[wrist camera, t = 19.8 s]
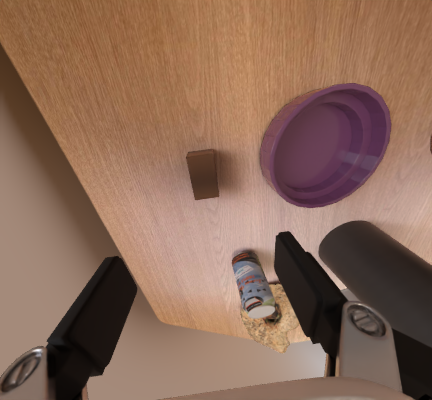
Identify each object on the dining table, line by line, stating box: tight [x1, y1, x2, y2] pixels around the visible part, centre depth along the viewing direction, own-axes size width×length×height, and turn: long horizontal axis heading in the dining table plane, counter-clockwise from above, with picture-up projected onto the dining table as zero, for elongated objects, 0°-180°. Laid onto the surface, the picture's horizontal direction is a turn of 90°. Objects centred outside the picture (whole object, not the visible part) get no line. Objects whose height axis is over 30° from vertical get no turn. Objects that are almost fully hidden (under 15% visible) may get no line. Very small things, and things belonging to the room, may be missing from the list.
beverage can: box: [232, 251, 275, 319], centre depth 33 cm, size 6×7×12 cm
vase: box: [319, 221, 432, 348], centre depth 26 cm, size 14×14×29 cm
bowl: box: [260, 83, 391, 208], centre depth 25 cm, size 17×17×5 cm
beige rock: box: [241, 284, 300, 353], centre depth 45 cm, size 18×14×8 cm
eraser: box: [186, 149, 219, 200], centre depth 26 cm, size 7×4×4 cm, turn 7°
